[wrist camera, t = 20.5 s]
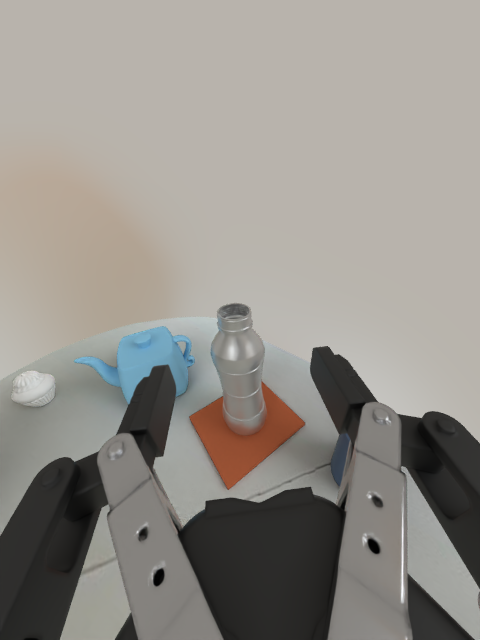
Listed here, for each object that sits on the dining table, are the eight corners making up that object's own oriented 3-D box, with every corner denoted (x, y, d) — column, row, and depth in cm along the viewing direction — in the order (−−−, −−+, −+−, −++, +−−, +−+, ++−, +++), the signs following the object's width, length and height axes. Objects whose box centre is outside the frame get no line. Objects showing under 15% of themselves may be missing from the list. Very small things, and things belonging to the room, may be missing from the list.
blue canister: (346, 441, 30) (361, 401, 25) (388, 478, 26) (416, 439, 21) (321, 467, 28) (332, 429, 23) (363, 513, 24) (388, 478, 19)
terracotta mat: (256, 378, 41) (256, 375, 41) (304, 424, 33) (305, 422, 32) (189, 418, 35) (189, 416, 35) (228, 490, 26) (227, 488, 26)
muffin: (34, 391, 42) (11, 366, 39) (68, 383, 44) (49, 358, 40) (16, 418, 37) (-12, 393, 33) (55, 408, 38) (32, 382, 35)
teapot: (105, 380, 43) (78, 336, 37) (191, 352, 49) (180, 309, 43) (97, 434, 34) (59, 386, 28) (206, 391, 39) (194, 343, 33)
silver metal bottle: (253, 450, 29) (245, 336, 19) (216, 427, 33) (190, 318, 22) (273, 414, 34) (276, 304, 23) (238, 396, 37) (226, 293, 26)
